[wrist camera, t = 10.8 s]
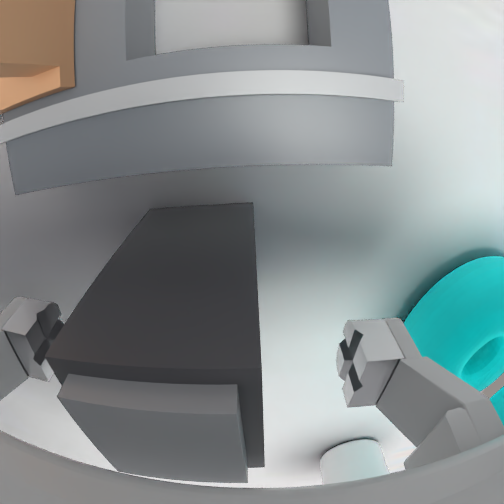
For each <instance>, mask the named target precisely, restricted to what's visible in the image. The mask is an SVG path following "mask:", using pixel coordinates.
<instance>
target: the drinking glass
mask: <svg viewBox="0 0 504 504" xmlns="http://www.w3.org/2000/svg"><path fill="white" fill-rule="evenodd" d="M320 471H321V477H322V485H324V484H333V483H340V482H347V481H354V480H360V479H365V478H371V477H376V476H381V475H386V474H390V472H389V469H388V466H387V464H386V461H385V457H384V454H383V451H382V448H381V446H380V444H379V443H378V442H376V441H374V440H369V439H362V440H354V441H350V442H346V443H343V444H340V445H338V446H336V447H334V448H332V449H330V450H329V451H327V452H326V453H325V454H324V455H323V456H322V458H321V460H320Z"/></svg>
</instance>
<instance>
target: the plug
mask: <svg viewBox="0 0 504 504" xmlns="http://www.w3.org/2000/svg"><path fill="white" fill-rule="evenodd" d="M44 357H45V358H46V360H47V362H48V364H49V365H50V367H51V369H52V370H53V372H54V374H55V375H56V377H57V378H58V380H59V382H60V383H61V385H62V388H61V390H60V392H59V394H58V396H57V397H58V399H59V400H60V402H61V403H62V404H63V406H64V407H65V409H66V410H67V411H68V413H69V414H70V415H71V417H72V418H73V419H74V421H75V422H76V423H77V425H78V426H79V427H80V428H81V430H82V431H83V432H84V433H85V435H86V436H87V437H88V438H89V439H90V441H91V442H92V443H93V444H94V445H95V446H96V448H97V449H98V450H99V451H100V452H101V453H102V454H103V456H104V457H105V458H106V459H107V460H108V461H109V462H110V463H111V464H112V465H113V466H114V468H115V469H116V470H117V471H119V472H124V473H130V474H136V475H142V476H148V477H156V478H164V479H173V480H183V481H196V482H217V483H248V468H254V467H265V464H264V430H263V398H262V367H261V347H260V328H259V308H258V289H257V270H256V251H255V233H254V214H253V203H235V204H217V205H200V206H185V207H171V208H158V209H150V210H149V211H148V213H147V214H146V215H145V216H144V217H143V219H142V220H141V221H140V222H139V223H138V225H137V226H136V227H135V228H134V230H133V231H132V232H131V233H130V235H129V236H128V237H127V238H126V240H125V241H124V242H123V243H122V245H121V246H120V247H119V249H118V250H117V251H116V252H115V254H114V255H113V256H112V258H111V259H110V260H109V262H108V263H107V264H106V266H105V267H104V268H103V270H102V271H101V272H100V274H99V275H98V277H97V278H96V279H95V281H94V282H93V283H92V285H91V286H90V288H89V289H88V290H87V292H86V293H85V295H84V296H83V298H82V299H81V300H80V302H79V303H78V305H77V306H76V308H75V309H74V311H73V312H72V314H71V315H70V317H69V318H68V320H67V321H66V323H65V324H64V326H63V327H62V329H61V330H60V332H59V334H58V335H57V337H56V338H55V340H54V341H53V343H52V345H51V346H50V348H49V349H48V351H47V353H46V354H45V356H44Z"/></svg>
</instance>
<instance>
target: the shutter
mask: <svg viewBox="0 0 504 504" xmlns="http://www.w3.org/2000/svg"><path fill="white" fill-rule="evenodd" d="M74 12H75V0H0V114H3V113H5V112H7V111H10V110H12V109H14V108H17V107H19V106H22V105H24V104H27V103H29V102H32V101H35V100H37V99H40V98H43V97H46V96H48V95H51V94H54V93H57V92H60V91H63V90H67V89H70V88H73V87H75V76H74Z"/></svg>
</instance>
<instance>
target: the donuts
mask: <svg viewBox="0 0 504 504" xmlns="http://www.w3.org/2000/svg"><path fill="white" fill-rule="evenodd" d="M404 325H405V327H406V329H407V331H408V332H409V334H410V336H411V338H412V339H413V341H414V343H415V345H416V347H417V348H418V350H419V352H420V354H421V356H422V357H428V358H430V359H431V360H433V361H434V362H436V363H437V364H439V365H440V366H442V367H443V368H445V369H446V370H448V371H449V372H451V373H452V374H454V375H455V376H457V377H458V378H460V379H461V380H463V381H464V382H466V383H468V384H469V385H471V386H472V387H474V388H475V389H477V390H478V391H482V390H483V389H485V388H486V387H488V386H489V385H490V384H492V383H493V382H494V381H495V380H496V379H497V378H498V377H500V376H501V375H502V374H503V373H504V257H502V256H487V257H482V258H478V259H475V260H472V261H470V262H467V263H465V264H463V265H461V266H460V267H458V268H456V269H454V270H453V271H452V272H450V273H449V274H447V275H446V276H445V277H443V278H442V279H441V280H439V281H438V282H437V283H436V284H435V285H434V286H433V287H432V288H431V289H430V290H429V291H428V292H427V293H426V294H425V295H424V296H423V297H422V298H421V300H420V301H419V302H418V303H417V304H416V306H415V307H414V308H413V310H412V311H411V312H410V314H409V315H408V317H407V319H406V320H405V322H404ZM490 401H491V403H492V405H493V406H494V408H495V410H496V412H497V414H498V416H499V418H500V420H501V422H502V424H503V426H504V386H503V387H502V388H501V389H500V390H499V391H498V392H496V393H495V394H494V395H493V396H492V397H491V398H490Z"/></svg>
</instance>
